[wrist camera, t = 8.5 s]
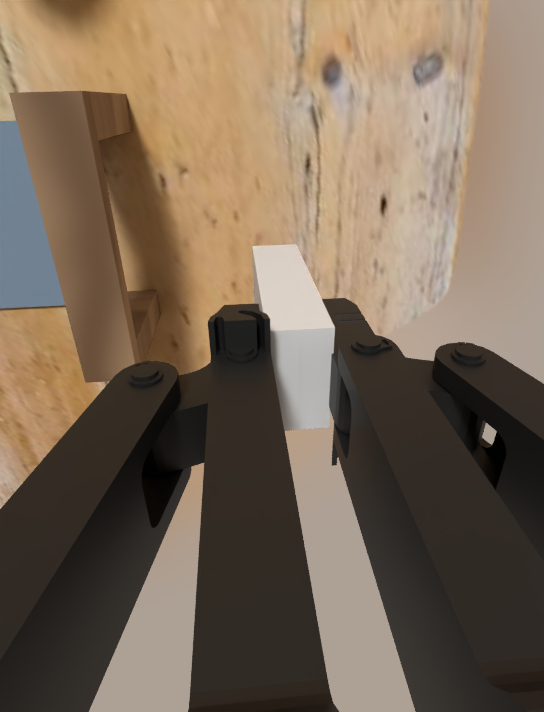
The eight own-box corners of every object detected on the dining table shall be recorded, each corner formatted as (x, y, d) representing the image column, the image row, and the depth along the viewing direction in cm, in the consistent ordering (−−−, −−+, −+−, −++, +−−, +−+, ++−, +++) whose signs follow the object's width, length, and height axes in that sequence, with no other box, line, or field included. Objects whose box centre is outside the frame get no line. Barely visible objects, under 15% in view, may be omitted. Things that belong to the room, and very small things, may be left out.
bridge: (120, 317, 34) (85, 382, 26) (75, 95, 27) (9, 92, 19) (160, 315, 35) (138, 379, 27) (126, 94, 28) (81, 90, 20)
